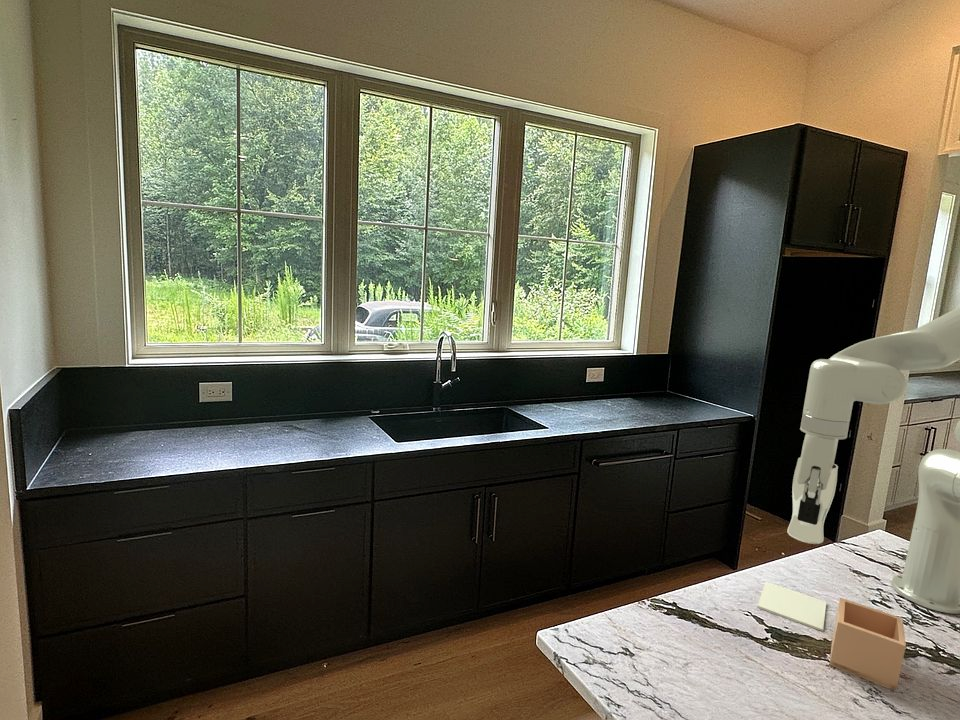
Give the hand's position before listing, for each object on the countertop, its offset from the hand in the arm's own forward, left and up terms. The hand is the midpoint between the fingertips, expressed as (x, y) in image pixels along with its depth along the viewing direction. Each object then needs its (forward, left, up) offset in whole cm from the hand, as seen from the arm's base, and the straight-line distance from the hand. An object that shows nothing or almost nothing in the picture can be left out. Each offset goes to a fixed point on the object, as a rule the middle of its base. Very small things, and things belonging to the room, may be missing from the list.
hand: (808, 515), depth 105 cm
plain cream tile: (0, 0, -19) cm, 19 cm away
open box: (+11, +11, -19) cm, 25 cm away
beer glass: (0, 0, -5) cm, 5 cm away
